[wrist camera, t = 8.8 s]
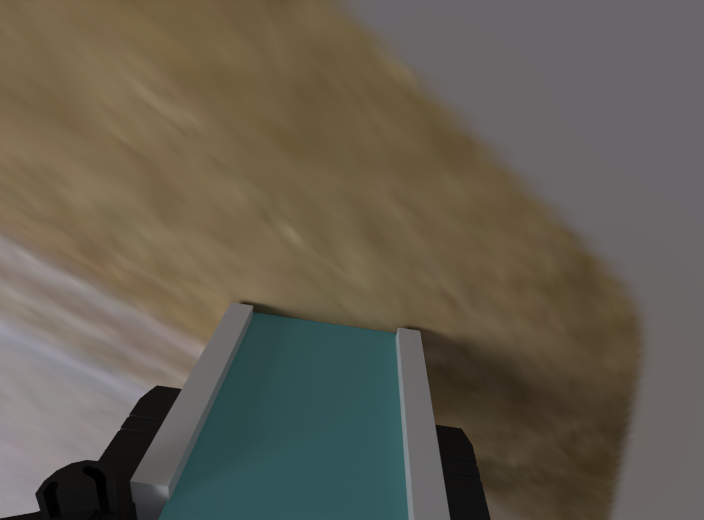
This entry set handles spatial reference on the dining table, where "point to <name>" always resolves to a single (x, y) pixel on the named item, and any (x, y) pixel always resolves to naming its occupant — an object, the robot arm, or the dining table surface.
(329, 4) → the dining table surface
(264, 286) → the dining table surface
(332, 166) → the dining table surface
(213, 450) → the domino
